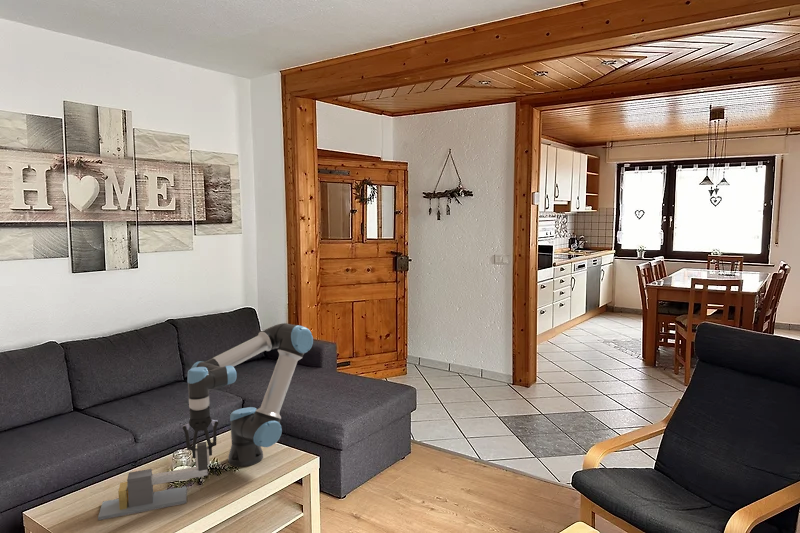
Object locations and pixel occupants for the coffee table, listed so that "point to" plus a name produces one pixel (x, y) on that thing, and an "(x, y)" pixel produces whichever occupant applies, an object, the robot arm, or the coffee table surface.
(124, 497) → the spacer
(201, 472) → the shaft
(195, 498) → the coffee table surface
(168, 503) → the bracket
